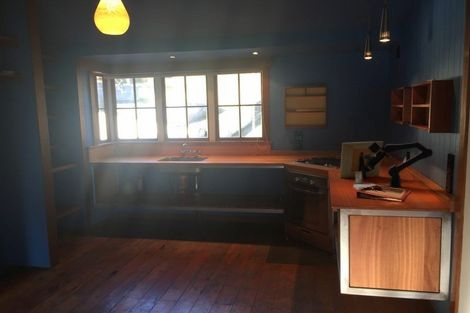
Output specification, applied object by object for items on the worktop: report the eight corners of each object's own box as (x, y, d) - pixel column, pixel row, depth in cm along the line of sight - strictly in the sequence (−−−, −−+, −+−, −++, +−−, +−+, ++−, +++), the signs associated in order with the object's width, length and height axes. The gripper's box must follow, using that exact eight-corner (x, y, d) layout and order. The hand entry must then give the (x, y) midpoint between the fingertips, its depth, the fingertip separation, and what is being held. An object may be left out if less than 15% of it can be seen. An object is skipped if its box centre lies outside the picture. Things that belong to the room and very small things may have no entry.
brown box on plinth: (363, 184, 278) (363, 171, 277) (362, 186, 273) (362, 172, 271) (354, 184, 280) (354, 171, 279) (354, 186, 275) (354, 172, 274)
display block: (372, 186, 271) (372, 183, 270) (378, 189, 261) (378, 186, 260) (353, 187, 270) (353, 184, 270) (358, 189, 260) (358, 187, 260)
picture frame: (378, 176, 312) (378, 140, 309) (383, 178, 302) (383, 141, 299) (339, 177, 311) (339, 142, 308) (343, 179, 301) (343, 143, 298)
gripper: (370, 148, 279) (354, 163, 284) (369, 151, 262) (353, 166, 267) (381, 159, 277) (365, 173, 282) (381, 162, 260) (364, 177, 265)
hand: (362, 172), depth 274 cm, fingers open, 9 cm apart
